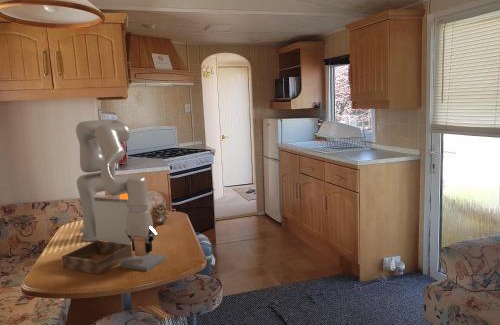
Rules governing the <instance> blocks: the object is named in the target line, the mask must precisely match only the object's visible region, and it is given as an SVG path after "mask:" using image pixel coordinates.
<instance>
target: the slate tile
mask: <svg viewBox="0 0 500 325" xmlns="http://www.w3.org/2000/svg"><path fill="white" fill-rule="evenodd" d="M165 260H166V255H162V254H161V255H160V254H153V253H150V254H148V255H146V256H136V255H135V254H134V255H132V257H130V258H128V259H126V260H125V261H123V262H121V263H119V264H120V268H125V269H126V268H127V269H133V270H140V271H144V272H148V271H150V270H151V269H154V267H156V266H158V265H159V264H161V263H162V262H164V261H165ZM160 262H161V263H160ZM157 264H158V265H157Z"/></svg>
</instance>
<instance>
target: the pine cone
mask: <svg viewBox="0 0 500 325" xmlns="http://www.w3.org/2000/svg"><path fill="white" fill-rule="evenodd" d="M150 210H151V211H150V214H151V218H152V221H153V222H154V223H157V224H158V225H161V224H162V223H165V222H167V220H168V218H169V209H168V207H167V206H166V205H165V204H163V203H157V205H156V204H155V205H154V206H152V208H151V209H150Z"/></svg>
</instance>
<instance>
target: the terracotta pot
mask: <svg viewBox="0 0 500 325" xmlns="http://www.w3.org/2000/svg"><path fill="white" fill-rule="evenodd" d="M132 239H133V240H134V250H135V251H134V255H136V256H146V255H148V254H151V252H149V253H146V246H145V244H146V240H145V237H137V236H132ZM148 239H149V236H148Z"/></svg>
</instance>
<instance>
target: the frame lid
mask: <svg viewBox="0 0 500 325" xmlns="http://www.w3.org/2000/svg"><path fill="white" fill-rule="evenodd" d="M127 205H128V199H120V198H115V197H113V198H111V197H102V196H101V197H100V196H98V197H95V217H96V236H97V241H104V242H108V241H109V242H116V243H124V244H127V245H132V242H131V241H130V238H129V237H128V235H127V234H126V233H125V230H126V229H127V212H128V211H129V207H127Z"/></svg>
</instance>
